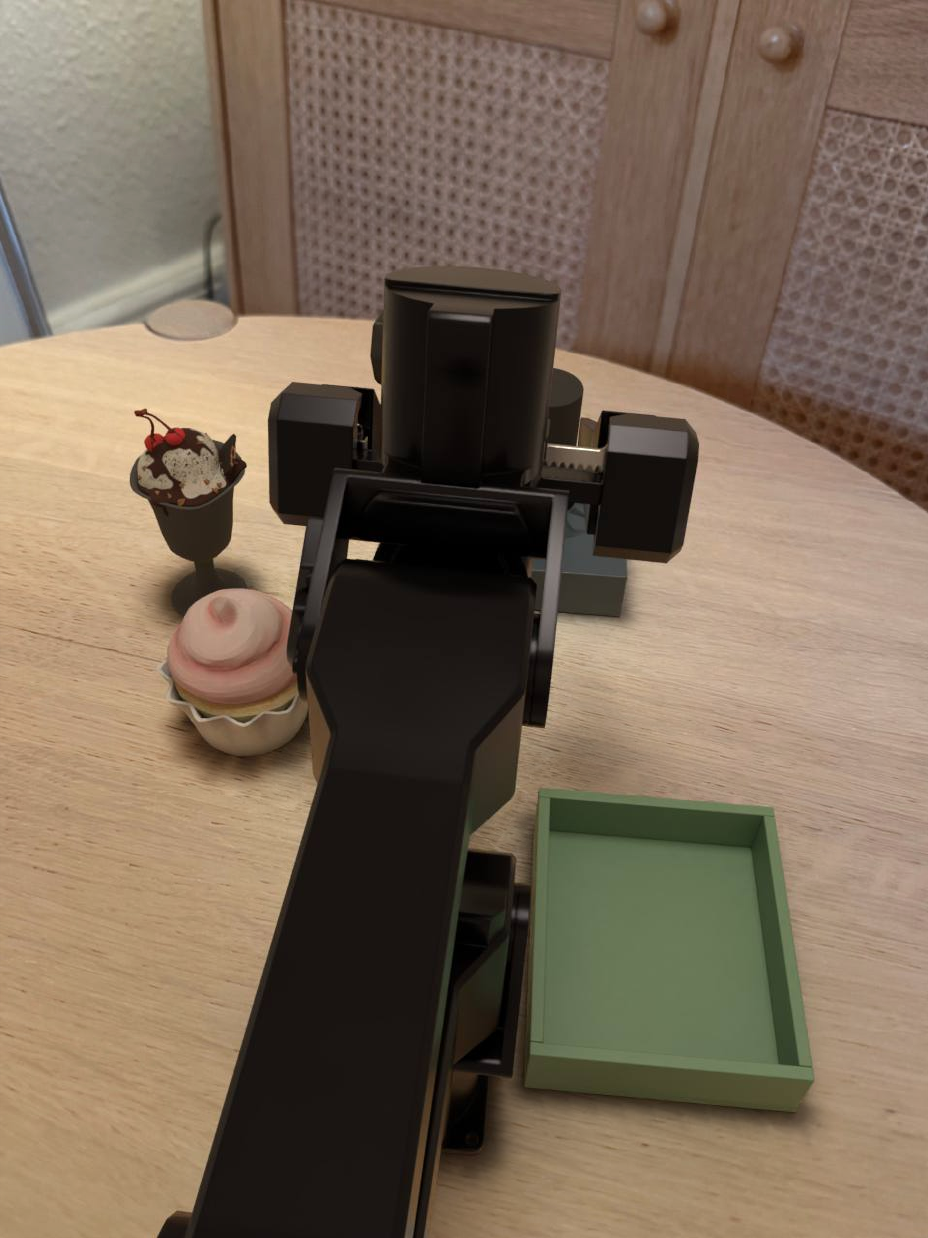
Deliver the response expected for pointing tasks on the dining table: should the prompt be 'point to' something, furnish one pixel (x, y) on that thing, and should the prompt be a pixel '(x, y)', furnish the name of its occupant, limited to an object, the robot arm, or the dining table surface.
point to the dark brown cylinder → (564, 410)
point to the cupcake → (235, 672)
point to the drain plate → (584, 573)
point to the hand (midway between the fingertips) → (494, 418)
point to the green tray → (663, 953)
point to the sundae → (191, 503)
